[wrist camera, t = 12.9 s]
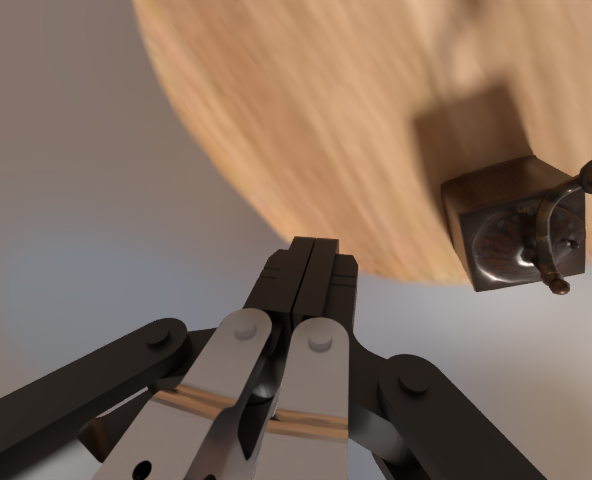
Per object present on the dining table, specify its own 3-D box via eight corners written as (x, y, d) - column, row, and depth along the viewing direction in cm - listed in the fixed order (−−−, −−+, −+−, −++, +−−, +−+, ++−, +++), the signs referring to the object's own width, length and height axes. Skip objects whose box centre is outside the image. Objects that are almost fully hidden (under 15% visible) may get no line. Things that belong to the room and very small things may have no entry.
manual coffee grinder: (548, 229, 38) (674, 341, 23) (452, 251, 42) (507, 360, 27) (538, 104, 32) (704, 143, 17) (427, 144, 36) (480, 205, 20)
